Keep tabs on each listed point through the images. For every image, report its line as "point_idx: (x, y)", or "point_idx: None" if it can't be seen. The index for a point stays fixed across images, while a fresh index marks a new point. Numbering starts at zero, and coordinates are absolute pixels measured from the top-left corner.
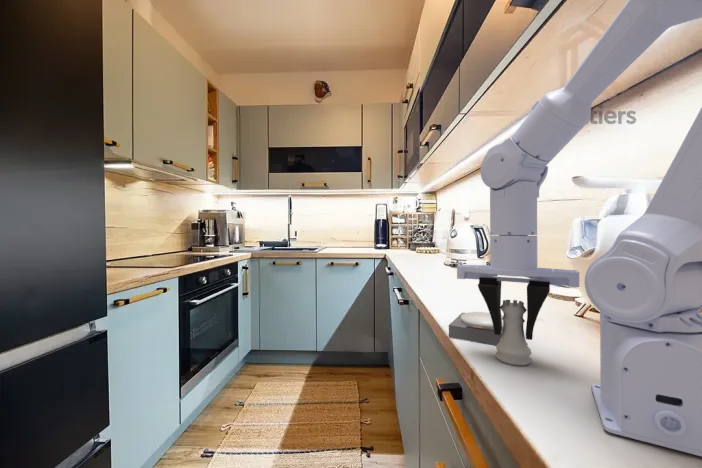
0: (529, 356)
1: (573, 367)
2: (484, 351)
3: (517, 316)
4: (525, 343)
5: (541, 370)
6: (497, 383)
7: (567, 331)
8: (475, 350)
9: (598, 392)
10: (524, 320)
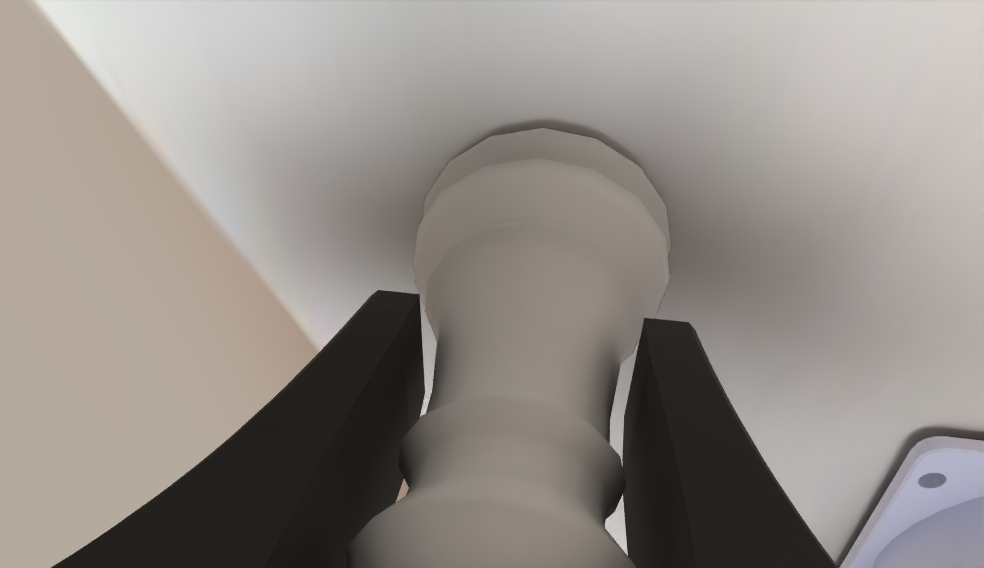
0: (657, 223)
1: (971, 184)
2: (331, 139)
3: None
4: (624, 350)
5: (708, 313)
6: None
7: None
8: (268, 148)
9: (902, 517)
10: (619, 495)
